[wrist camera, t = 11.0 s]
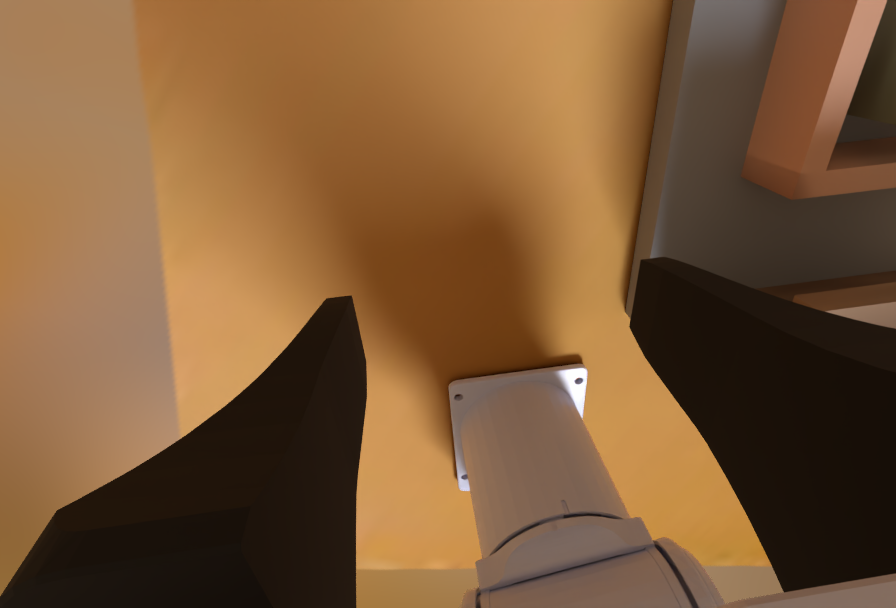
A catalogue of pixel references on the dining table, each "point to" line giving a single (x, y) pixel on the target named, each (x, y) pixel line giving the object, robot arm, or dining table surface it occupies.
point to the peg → (878, 74)
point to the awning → (847, 296)
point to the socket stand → (768, 146)
